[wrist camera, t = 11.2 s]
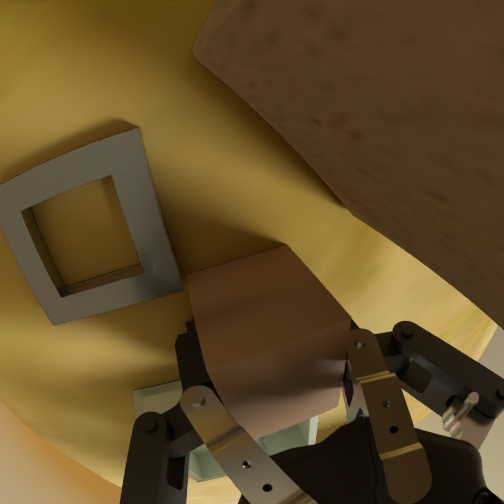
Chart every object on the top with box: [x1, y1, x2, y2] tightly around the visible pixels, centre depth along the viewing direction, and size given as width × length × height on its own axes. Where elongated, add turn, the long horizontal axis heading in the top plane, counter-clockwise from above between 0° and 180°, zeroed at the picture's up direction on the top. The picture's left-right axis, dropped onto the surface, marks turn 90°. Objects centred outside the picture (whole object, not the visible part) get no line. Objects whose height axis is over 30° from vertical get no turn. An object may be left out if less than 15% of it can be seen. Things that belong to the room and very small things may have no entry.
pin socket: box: [0, 127, 184, 326], centre depth 9 cm, size 6×6×1 cm
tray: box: [133, 380, 319, 482], centre depth 16 cm, size 11×10×3 cm
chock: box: [185, 245, 351, 439], centre depth 11 cm, size 6×4×5 cm
